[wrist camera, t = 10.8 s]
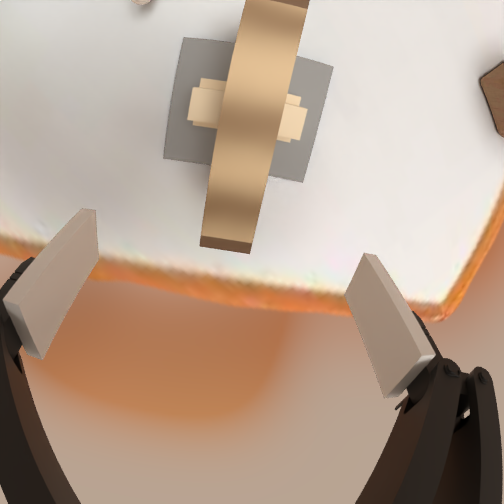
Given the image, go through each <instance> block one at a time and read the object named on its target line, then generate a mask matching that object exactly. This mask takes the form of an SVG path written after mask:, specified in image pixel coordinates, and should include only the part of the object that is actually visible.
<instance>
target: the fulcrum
mask: <svg viewBox="0 0 504 504" xmlns="http://www.w3.org/2000/svg"><path fill="white" fill-rule="evenodd" d="M234 47H235V43H231V42H224V41H217V40H208V39H199V38H187V37H184V39H183V43H182V48H181V52H180V57H179V62H178V67H177V72H176V77H175V83H174V88H173V94H172V100H171V106H170V113H169V119H168V126H167V133H166V141H165V149H164V158H163V159H171V160H178V161H186V162H193V163H200V164H206V165H211V164H212V158H213V152H214V146H215V140H216V135H217V129H218V124H219V119H220V113H221V108H222V103H223V98H224V93H225V88H226V83H227V78H228V74H229V69H230V64H231V60H232V55H233V51H234ZM332 71H333V66H330V65H327V64H323V63H320V62H317V61H313V60H310V59H306V58H303V57H299V56H296V60H295V64H294V68H293V72H292V76H291V81H290V85H289V89H288V93H287V98H286V102H285V106H284V110H283V114H282V119H281V123H280V127H279V131H278V136H277V140H276V144H275V148H274V153H273V157H272V161H271V165H270V170H269V174H268V175H269V176H274V177H279V178H284V179H289V180H293V181H298V182H302V183H303V180H304V177H305V173H306V170H307V166H308V162H309V159H310V155H311V152H312V148H313V144H314V141H315V137H316V133H317V129H318V126H319V122H320V118H321V114H322V110H323V107H324V103H325V99H326V95H327V91H328V87H329V83H330V79H331V75H332Z"/></svg>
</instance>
